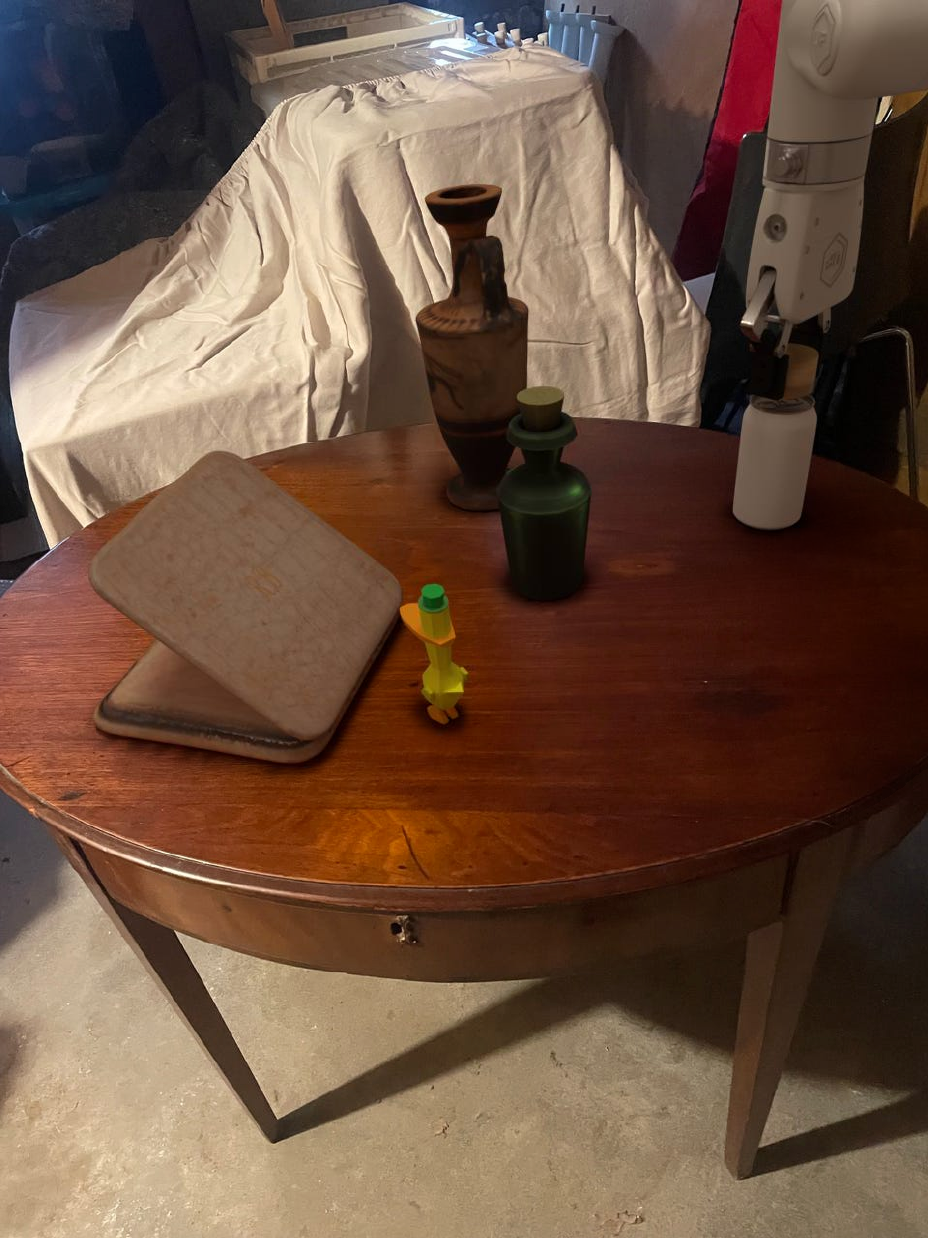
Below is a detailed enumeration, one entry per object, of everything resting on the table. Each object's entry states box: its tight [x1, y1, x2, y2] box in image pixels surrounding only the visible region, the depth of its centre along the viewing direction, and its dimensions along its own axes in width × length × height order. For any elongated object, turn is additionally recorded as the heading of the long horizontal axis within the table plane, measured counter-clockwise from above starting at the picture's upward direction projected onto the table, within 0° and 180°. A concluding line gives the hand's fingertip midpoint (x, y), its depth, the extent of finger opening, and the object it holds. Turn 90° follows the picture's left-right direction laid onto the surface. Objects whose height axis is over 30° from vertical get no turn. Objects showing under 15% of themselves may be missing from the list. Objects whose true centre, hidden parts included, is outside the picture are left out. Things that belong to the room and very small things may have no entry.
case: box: [87, 450, 403, 764], centre depth 69 cm, size 20×21×16 cm
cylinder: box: [780, 343, 819, 400], centre depth 78 cm, size 5×5×3 cm
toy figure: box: [399, 583, 469, 725], centre depth 64 cm, size 7×4×12 cm, turn 37°
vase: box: [414, 183, 530, 512], centre depth 86 cm, size 11×11×30 cm
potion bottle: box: [497, 385, 592, 601], centre depth 75 cm, size 8×8×18 cm
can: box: [732, 394, 818, 531], centre depth 83 cm, size 6×6×12 cm
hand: (783, 383), depth 79 cm, fingers closed on cylinder, 5 cm apart
